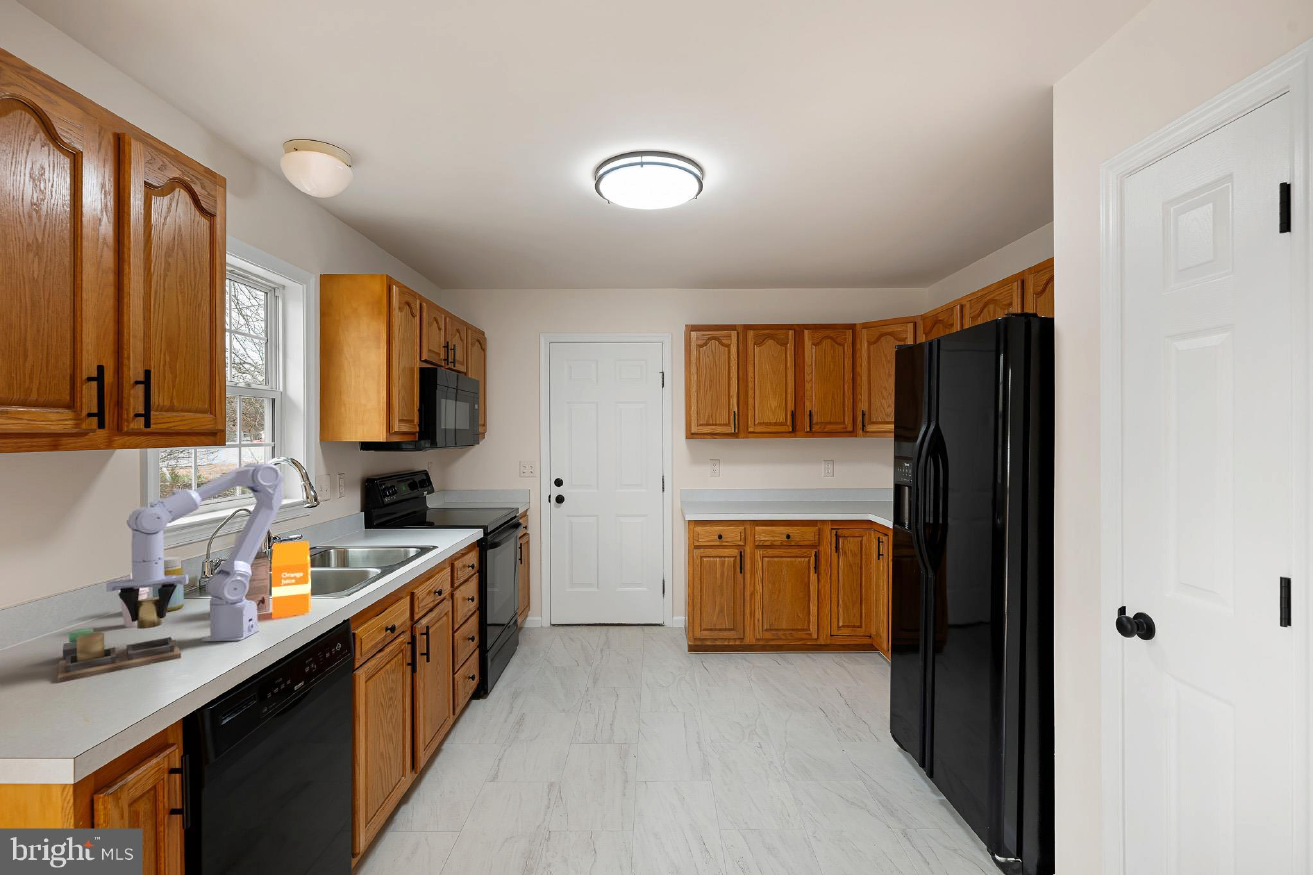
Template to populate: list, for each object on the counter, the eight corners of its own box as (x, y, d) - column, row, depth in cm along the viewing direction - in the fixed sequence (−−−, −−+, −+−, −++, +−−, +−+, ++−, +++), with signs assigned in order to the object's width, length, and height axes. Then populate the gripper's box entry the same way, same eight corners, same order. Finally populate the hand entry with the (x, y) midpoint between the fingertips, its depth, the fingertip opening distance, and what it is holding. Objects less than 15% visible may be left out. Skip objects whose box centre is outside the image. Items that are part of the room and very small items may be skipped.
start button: (93, 635, 144) (93, 627, 144) (93, 639, 141) (93, 631, 141) (69, 639, 141) (69, 631, 141) (69, 643, 138) (68, 635, 138)
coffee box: (237, 609, 178) (236, 553, 178) (262, 604, 183) (262, 550, 183) (244, 615, 172) (243, 558, 172) (270, 610, 177) (269, 554, 176)
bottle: (163, 606, 182) (162, 556, 182) (189, 605, 183) (188, 555, 183) (146, 613, 175) (146, 561, 175) (173, 612, 176) (172, 560, 176)
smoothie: (113, 626, 163) (112, 574, 163) (142, 620, 169) (141, 569, 169) (125, 630, 160) (124, 576, 160) (154, 623, 166) (153, 571, 166)
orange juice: (276, 611, 176) (275, 541, 176) (311, 607, 179) (310, 539, 179) (272, 618, 169) (270, 546, 169) (308, 614, 172) (307, 543, 172)
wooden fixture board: (175, 643, 149) (174, 614, 149) (181, 657, 139) (180, 626, 139) (60, 665, 135) (59, 633, 135) (57, 682, 126) (57, 648, 126)
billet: (163, 621, 144) (162, 596, 144) (160, 626, 140) (159, 600, 141) (138, 625, 142) (138, 599, 142) (135, 629, 138) (135, 603, 138)
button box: (99, 650, 145) (99, 637, 145) (99, 656, 141) (99, 643, 141) (63, 656, 141) (63, 643, 141) (62, 663, 137) (62, 650, 137)
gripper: (191, 553, 148) (192, 610, 148) (114, 559, 141) (115, 618, 141) (183, 558, 141) (184, 617, 141) (102, 565, 135) (103, 627, 135)
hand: (149, 618), depth 141 cm, fingers closed on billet, 4 cm apart
